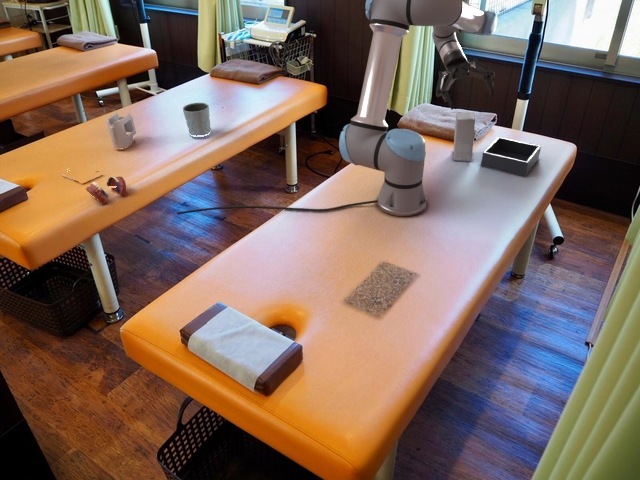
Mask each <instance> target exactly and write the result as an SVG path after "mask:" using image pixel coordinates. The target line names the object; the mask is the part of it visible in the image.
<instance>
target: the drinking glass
mask: <svg viewBox="0 0 640 480" xmlns="http://www.w3.org/2000/svg"><path fill="white" fill-rule="evenodd" d="M182 111H183V115H184V118H185V121H186V126H187V128H188V133H189V137H190V138H191V137H192V138H191V139H193V140H204V139H205V140H206V139H208V138H209V137H211V135H212V129H211V119H210V106H209V104H208V103H206V102H192V103H189V104H186V105H184V106H183V107H182ZM210 131H211V133H210V134H209V135H207V136H204V137H193V136H191V135H196V136H197V135H205V134H208V133H209V132H210ZM190 134H191V135H190Z"/></svg>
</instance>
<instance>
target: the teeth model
mask: <svg viewBox="0 0 640 480" xmlns="http://www.w3.org/2000/svg"><path fill="white" fill-rule="evenodd" d="M106 186H107V187H109V186H117V187H116V188H113V189H112V190H113V191H115V193H116V194H118V195H120V196H121V197H122V196H127V183H126V180H125V179H124V177H123V176H110V177H108V179H107V181H106ZM85 190H86V191H87V193H88V192H89V193H90V194H91V195H92V196H94V197H95V198H96V199H95V198H94V199H95V200H96V201H97V202H99V203H100V204H102V205H105V204H106V203H107V201H108V197H109V194H108V193H107V192H105V190H104V189H103V187H102V186H100V184H99V183H98V182H96V181H93V182H91V183H90V185H89V186H87V187H86V188H85ZM89 193H88V194H89ZM90 194H89V195H90ZM91 195H90V196H91ZM92 196H91V197H92ZM97 199H98V200H99V201H98V200H97Z"/></svg>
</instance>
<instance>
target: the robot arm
mask: <svg viewBox="0 0 640 480" xmlns="http://www.w3.org/2000/svg"><path fill="white" fill-rule="evenodd" d="M364 7H365V8H364V9H365V16H366V18H367V20H369V21H370V22H369V28H370V29H371V31H372V33H373V34H372V38H371V44H370V47H369V53H368V57H367V64H366V69H365V73H364V78H363V83H362V88H361V93H360V97H359V104H358V108H357V113H356V114H355V115H354V116H353V117H352V118H350V123H349V124H346V125H344V126H343V128H342V131H340V134H339V141H338V148H339V153H340V155H341V158H342V159H343V160H344V161H345V162H347V163H349V164H353V165H354V166H361V167H364V168H368V169H372V170H376V171H379V172H383V174H384V175H383V176H384V178H383V183H382V186H381V187H380V190H379V192H378V195H377V199H374V200H369V201H361V202H354V203H348V204H344V205H339V206H334V207H329V208H328V207H327V208H306V207H289V206H288V207H287V206H270V205H269V206H267V205H229V206H227V205H225V206H216V207H215V206H214V207H205V208H198V209H197V208H196V209H190V210H183V211H177V212H176V215H183V214H189V213H191V214H192V213H197V212H206V211H215V210H216V211H217V210H228V209H266V210H283V211H284V210H285V211H300V212H301V211H304V212H329V211H335V210H340V209H343V208H349V207H355V206H361V205H362V206H363V205H368V204H369V205H370V204H376V205H377V207H378V208H379V210H381V212H383V213H386V214H388V215H391V216H394V217H413V216H417V215H419V214H421V213H422V212H424V211H425V209H426V207H427V195H426V193H425V189H424V184H423V181H424V180H423V179H424V170H425V161H426V160H425V159H426V155H427V154H426V153H427V152H426V141H425V139H424V137H423V135H421V134H420V133H419V132H416V131H414V130H412V129H407V128H393V129H390V130H389V131H388V129H389V125H388V123H387V122H386V115H387V110H388V105H389V102H390V97H391V91H392V87H393V83H394V79H395V78H394V77H395V73H396V68H397V64H398V59H399V55H400V50H401V45H402V41H403V38H404V37H405V36H406V35H408V34H409V32H410V28H411V26H412V27H413V26H414V27H432V29H433V31H432V33H431V36H432V40H433V43H434V45H435V47H436V49H437V51H438V54H439V56H440V59H441V61H442V63H443V65H444V68H445V71H442V70H439V71H438V80H437V84H436V88H435V96H436V98H440V97H441V98H442V99H443V101H444V103H448V105H449V107H450V110H451V111H453V110H454V108H455V107H454V103H453V100H452V99H451V96H450V94H449V90H450V88H451V86H452V85H453V83H454V82H455V80H460V79H462V78H465V77H466V78H467V77H470V78H471V77H473V78H476V79H479V80H482V81H484V83H485V86H486V88H487V90H488V92H489V95H490V96H491V97H493V96H495V95H494V94H495V93H494V81H493V79H495V78H496V74H495V70H493V69H491V68H490V67H489V66H487V65H485V64H484V63H482V62H480V61H479V59H478V58H473V61H471V62H470V61H468V59H467V57H466V55H465V53H464V51H463V49H462V47H461V45H460V43H459V41H458V38H457V33H460V34H469V35H476V36H482V37H484V36H487V37H489V36H492V35H493V34H494V32H495V31H496V28H497V24H498V14H497V13H496V12H495V11H489V10H483V9H479V8H477V7H476V6H474V5H471V4H470V3H467V2H465V1H463V0H365V6H364ZM446 76H447V79H446ZM444 79H446V82H444Z"/></svg>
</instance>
